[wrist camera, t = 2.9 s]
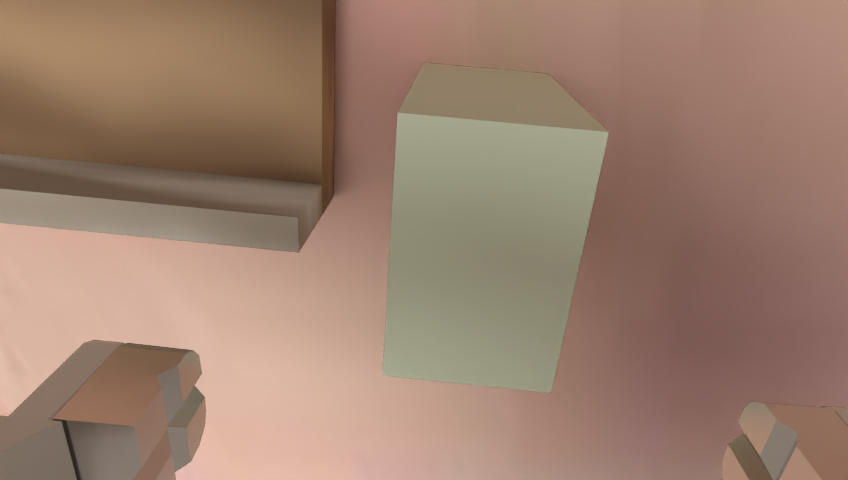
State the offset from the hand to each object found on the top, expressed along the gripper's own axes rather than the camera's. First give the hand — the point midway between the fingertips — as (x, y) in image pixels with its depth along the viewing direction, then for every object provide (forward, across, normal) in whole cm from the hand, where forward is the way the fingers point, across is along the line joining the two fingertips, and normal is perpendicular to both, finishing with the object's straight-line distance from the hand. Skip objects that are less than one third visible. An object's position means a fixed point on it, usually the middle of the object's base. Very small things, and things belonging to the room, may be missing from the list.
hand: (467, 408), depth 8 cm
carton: (+14, -1, 0) cm, 14 cm away
